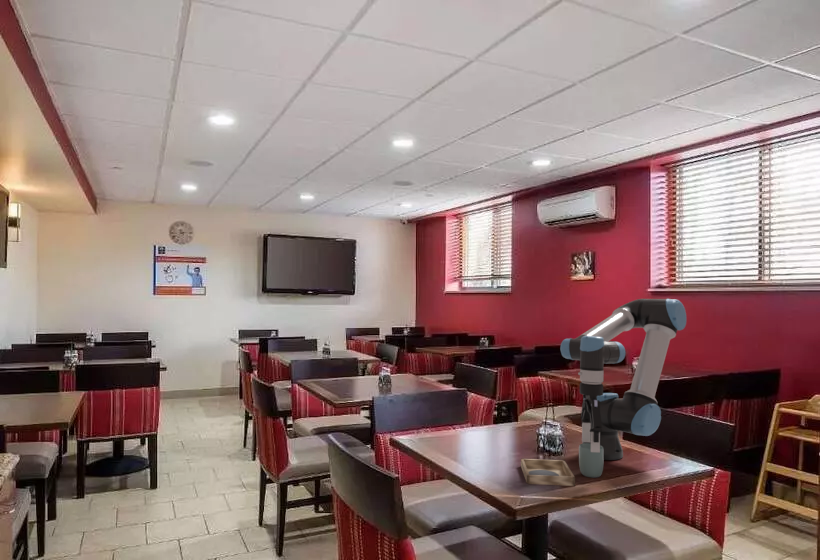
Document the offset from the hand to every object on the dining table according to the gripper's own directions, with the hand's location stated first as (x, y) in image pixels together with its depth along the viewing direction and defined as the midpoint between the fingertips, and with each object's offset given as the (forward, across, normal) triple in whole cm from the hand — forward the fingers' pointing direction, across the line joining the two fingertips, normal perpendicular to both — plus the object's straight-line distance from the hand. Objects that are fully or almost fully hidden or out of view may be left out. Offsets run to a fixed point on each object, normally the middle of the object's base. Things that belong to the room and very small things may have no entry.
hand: (590, 446), depth 191 cm
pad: (+9, +3, -16) cm, 18 cm away
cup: (+10, 0, 0) cm, 10 cm away
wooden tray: (+10, +3, -15) cm, 18 cm away
